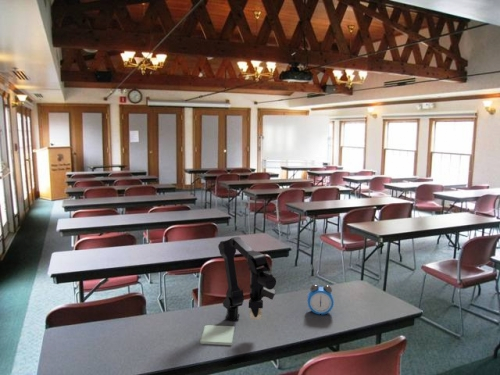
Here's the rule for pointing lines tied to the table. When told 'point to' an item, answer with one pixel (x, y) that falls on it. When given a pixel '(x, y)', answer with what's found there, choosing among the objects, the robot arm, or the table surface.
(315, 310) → the alarm clock
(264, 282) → the robot arm
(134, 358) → the table surface
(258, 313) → the birch cube
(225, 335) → the green pad
